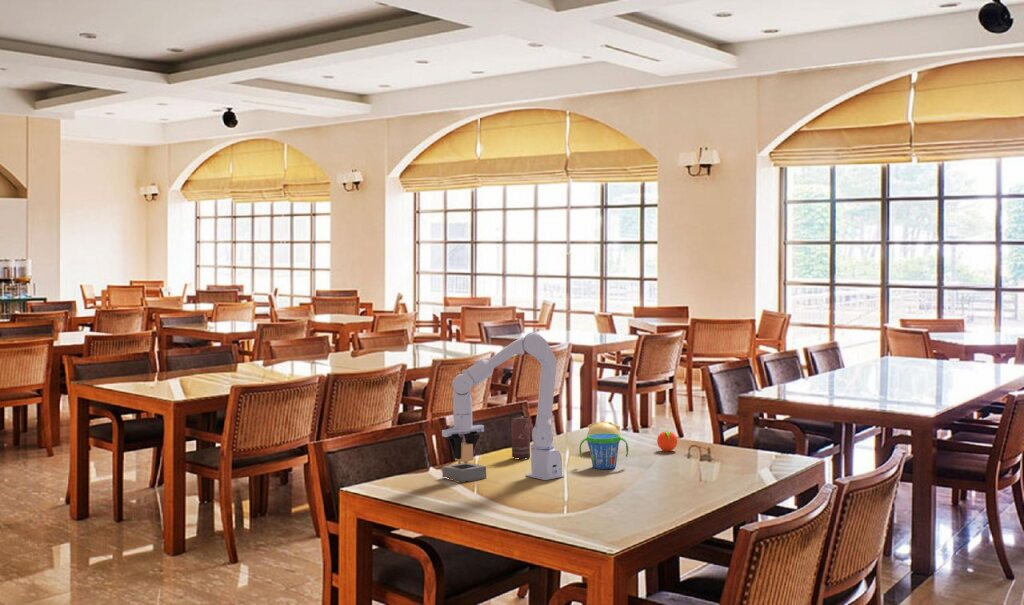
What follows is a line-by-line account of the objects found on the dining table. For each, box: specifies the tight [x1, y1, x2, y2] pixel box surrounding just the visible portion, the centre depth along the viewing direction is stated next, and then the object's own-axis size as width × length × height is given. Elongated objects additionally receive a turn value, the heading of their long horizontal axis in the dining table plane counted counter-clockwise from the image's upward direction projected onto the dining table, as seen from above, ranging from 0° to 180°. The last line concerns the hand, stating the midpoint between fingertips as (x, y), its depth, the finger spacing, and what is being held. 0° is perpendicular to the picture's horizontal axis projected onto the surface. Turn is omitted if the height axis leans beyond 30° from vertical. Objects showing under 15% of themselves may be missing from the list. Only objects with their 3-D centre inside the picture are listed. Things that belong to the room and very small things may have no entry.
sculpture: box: [586, 420, 621, 448], centre depth 343 cm, size 12×12×11 cm
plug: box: [454, 441, 474, 465], centre depth 303 cm, size 4×4×6 cm
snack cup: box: [579, 433, 629, 470], centre depth 315 cm, size 16×10×10 cm
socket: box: [441, 461, 487, 483], centre depth 304 cm, size 10×10×4 cm
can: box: [510, 415, 531, 459], centre depth 334 cm, size 6×6×14 cm
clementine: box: [656, 430, 678, 452], centre depth 341 cm, size 8×7×7 cm
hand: (463, 457), depth 303 cm, fingers closed on plug, 4 cm apart
